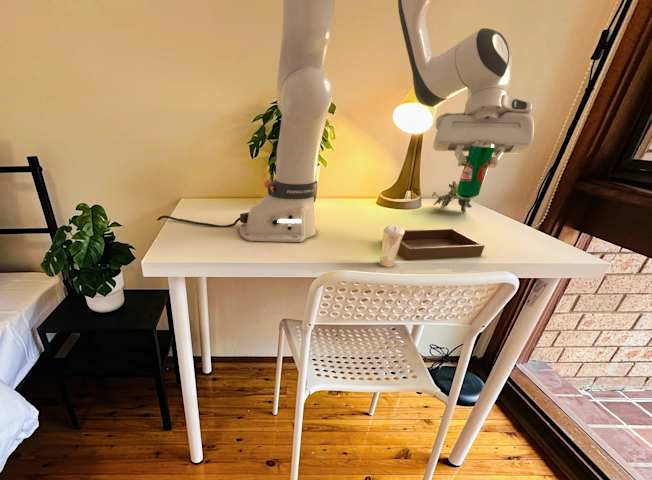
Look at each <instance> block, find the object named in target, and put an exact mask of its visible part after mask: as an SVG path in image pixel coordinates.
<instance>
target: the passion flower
mask: <svg viewBox="0 0 652 480" xmlns="http://www.w3.org/2000/svg"><path fill="white" fill-rule="evenodd" d="M458 184H459V182H456V181H455V180H453V181H452V183H451V182H449V183H448V187H449V189H450V191H448V193H447V194H444V195H441V196H439V195H438V194H437V192H436V191H433V193H432V195H431V198H434V196H436V197H438V198H437V199H436V200H435V202H434V203H433V206H436V205H437V204H438V205H441V206H440V208H439V209H438V212H440V211H441V210H442V209H443V208H445V207H448V206H449V204H450V203H451V202H452V201H454V200H455V199H456V200H458V201H457V203H458V205H459V206H460V212H461V213H463V214H465V213H466V212H467V210H466V208H468V209H470V208H472V205H471V204H472V198H463V197H459V196H457V194H456V190H457V187H458ZM441 202H442V203H441Z"/></svg>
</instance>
